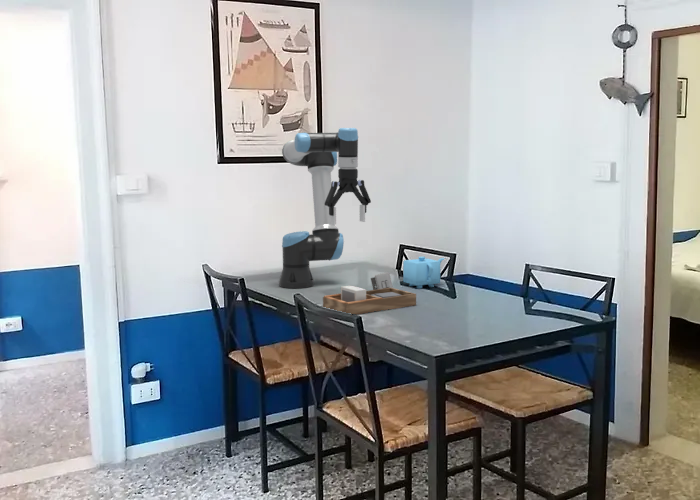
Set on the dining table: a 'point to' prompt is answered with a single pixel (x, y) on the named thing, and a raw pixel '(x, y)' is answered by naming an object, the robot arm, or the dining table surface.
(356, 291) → the white block
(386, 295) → the grey module
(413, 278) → the teapot
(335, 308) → the wooden compartment tray
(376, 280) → the electrical switch
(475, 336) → the dining table surface
